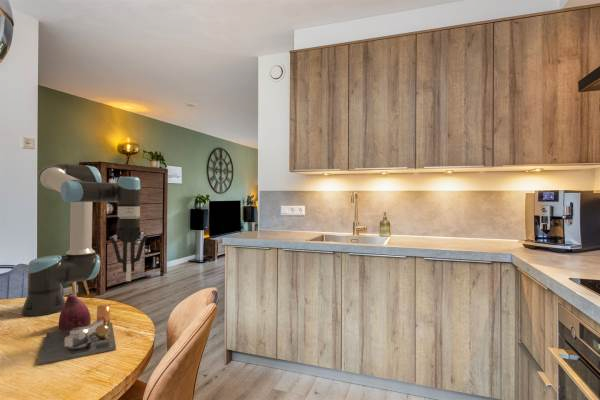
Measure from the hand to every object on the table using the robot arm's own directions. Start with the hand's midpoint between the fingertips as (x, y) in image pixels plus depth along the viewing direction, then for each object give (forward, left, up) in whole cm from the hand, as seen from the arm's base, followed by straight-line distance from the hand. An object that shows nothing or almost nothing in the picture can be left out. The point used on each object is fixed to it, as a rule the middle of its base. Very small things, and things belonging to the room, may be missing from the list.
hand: (128, 280), depth 128 cm
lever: (+7, -12, -16) cm, 21 cm away
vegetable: (-14, -17, -19) cm, 29 cm away
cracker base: (+5, -15, -18) cm, 24 cm away
